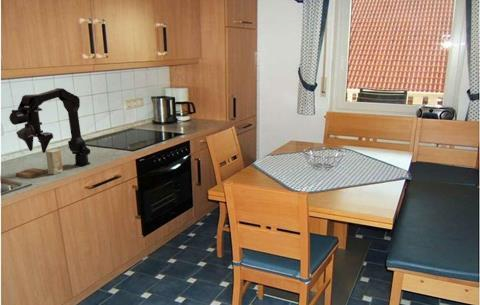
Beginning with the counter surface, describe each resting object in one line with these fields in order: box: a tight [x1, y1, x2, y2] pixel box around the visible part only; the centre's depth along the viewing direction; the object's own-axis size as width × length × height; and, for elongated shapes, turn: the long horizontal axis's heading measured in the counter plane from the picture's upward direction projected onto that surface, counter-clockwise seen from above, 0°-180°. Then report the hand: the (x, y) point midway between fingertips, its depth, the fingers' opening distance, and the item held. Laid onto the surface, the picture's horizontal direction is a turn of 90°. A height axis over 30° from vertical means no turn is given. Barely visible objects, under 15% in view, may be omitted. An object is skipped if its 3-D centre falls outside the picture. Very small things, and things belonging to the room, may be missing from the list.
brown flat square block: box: [15, 167, 47, 179], centre depth 215 cm, size 10×10×2 cm
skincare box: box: [45, 148, 64, 175], centre depth 216 cm, size 6×4×12 cm
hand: (37, 151), depth 203 cm, fingers open, 9 cm apart
